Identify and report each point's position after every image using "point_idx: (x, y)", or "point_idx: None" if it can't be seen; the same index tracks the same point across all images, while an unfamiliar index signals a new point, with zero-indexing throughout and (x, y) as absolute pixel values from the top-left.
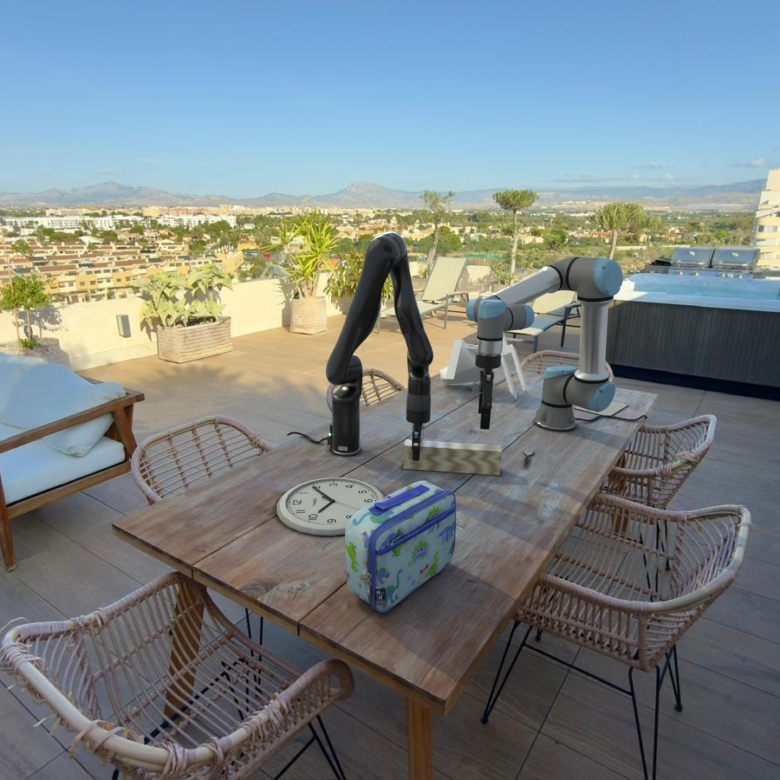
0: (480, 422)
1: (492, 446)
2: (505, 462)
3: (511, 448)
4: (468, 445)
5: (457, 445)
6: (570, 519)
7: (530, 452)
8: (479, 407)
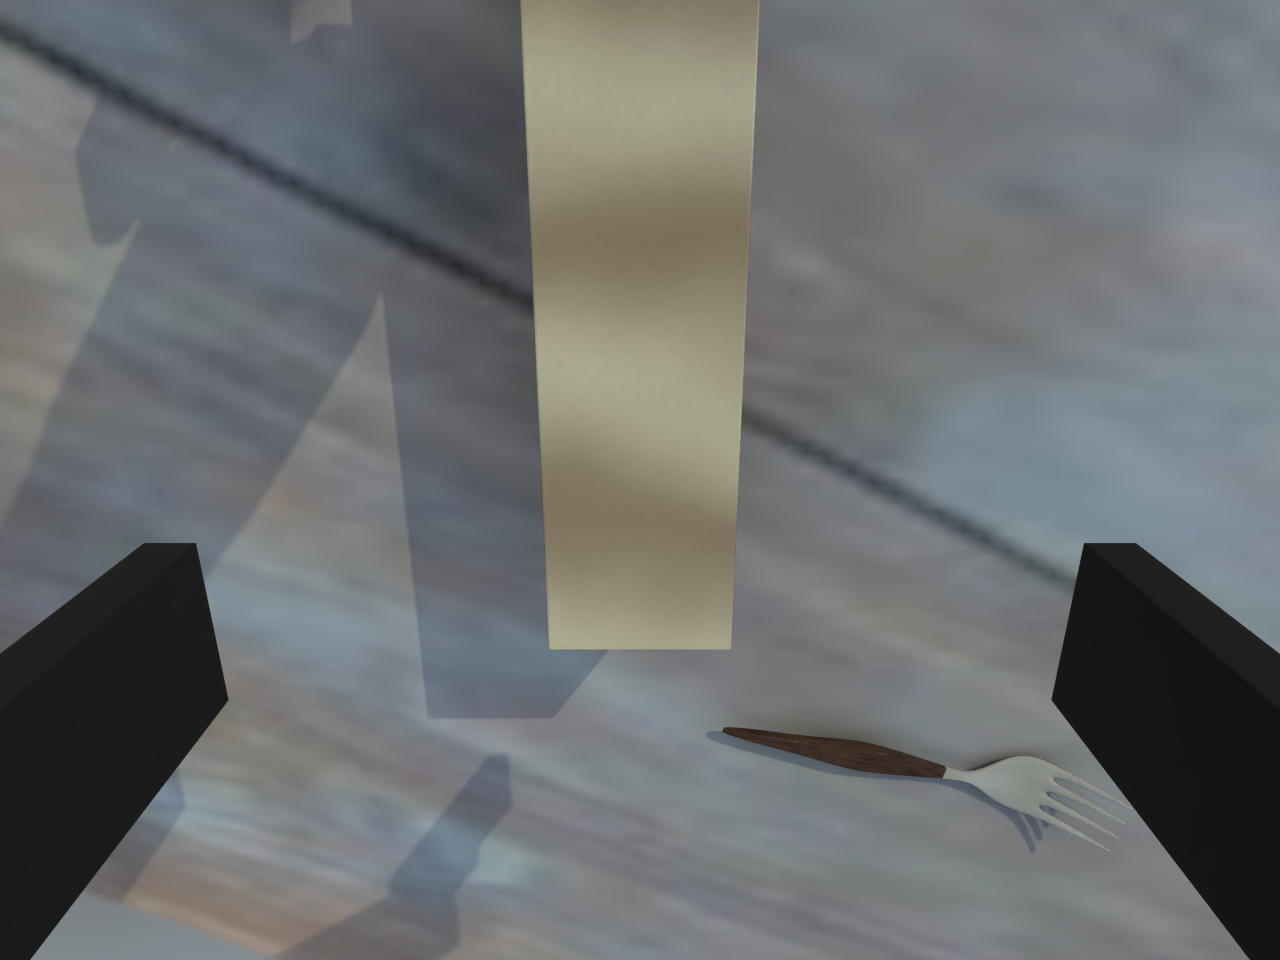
0: (83, 610)
1: (681, 566)
2: (836, 594)
3: None
4: (668, 277)
5: (647, 116)
6: None
7: (1022, 798)
8: (1160, 634)
